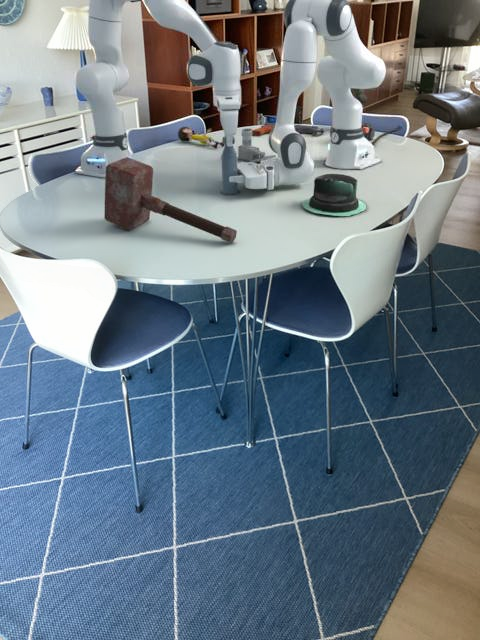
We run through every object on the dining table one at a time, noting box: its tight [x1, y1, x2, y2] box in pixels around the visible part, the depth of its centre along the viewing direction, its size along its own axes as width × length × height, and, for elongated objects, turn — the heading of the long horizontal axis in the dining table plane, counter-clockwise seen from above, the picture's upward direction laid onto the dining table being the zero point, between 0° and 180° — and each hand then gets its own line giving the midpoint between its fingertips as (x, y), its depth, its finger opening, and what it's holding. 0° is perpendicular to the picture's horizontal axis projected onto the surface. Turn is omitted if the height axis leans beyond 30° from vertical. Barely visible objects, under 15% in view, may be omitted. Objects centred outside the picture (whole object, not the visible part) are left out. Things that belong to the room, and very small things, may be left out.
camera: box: [237, 127, 277, 163], centre depth 222 cm, size 9×12×15 cm
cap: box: [221, 135, 236, 146], centre depth 182 cm, size 4×4×2 cm
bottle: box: [220, 144, 239, 195], centre depth 186 cm, size 5×5×18 cm
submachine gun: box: [252, 122, 325, 137], centre depth 263 cm, size 32×3×25 cm
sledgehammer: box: [103, 157, 238, 244], centre depth 155 cm, size 17×10×40 cm
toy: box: [361, 122, 376, 142], centre depth 244 cm, size 9×9×15 cm
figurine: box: [177, 126, 225, 150], centre depth 251 cm, size 13×8×25 cm
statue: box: [350, 88, 368, 108], centre depth 262 cm, size 11×9×30 cm
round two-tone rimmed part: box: [301, 173, 367, 217], centre depth 174 cm, size 15×19×20 cm
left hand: (228, 143), depth 182 cm, fingers open, 4 cm apart
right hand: (227, 176), depth 187 cm, fingers closed on bottle, 5 cm apart
